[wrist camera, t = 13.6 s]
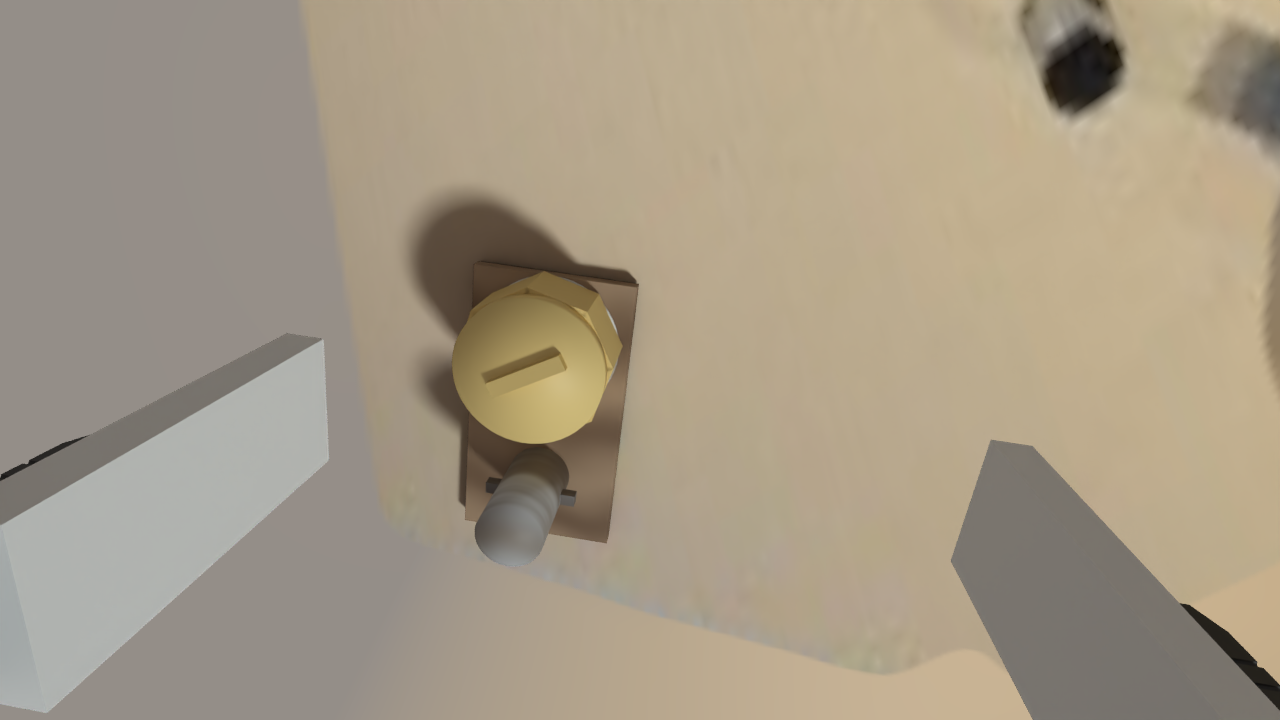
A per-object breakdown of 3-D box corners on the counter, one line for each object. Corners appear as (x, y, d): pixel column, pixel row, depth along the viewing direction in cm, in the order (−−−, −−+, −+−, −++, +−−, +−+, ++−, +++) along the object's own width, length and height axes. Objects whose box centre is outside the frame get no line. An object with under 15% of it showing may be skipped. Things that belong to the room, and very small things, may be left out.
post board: (478, 261, 47) (426, 294, 38) (638, 284, 46) (621, 322, 38) (469, 512, 54) (423, 587, 45) (608, 535, 53) (587, 615, 45)
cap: (581, 255, 45) (561, 277, 39) (638, 381, 47) (627, 419, 41) (457, 307, 47) (420, 334, 41) (518, 425, 49) (492, 467, 44)
